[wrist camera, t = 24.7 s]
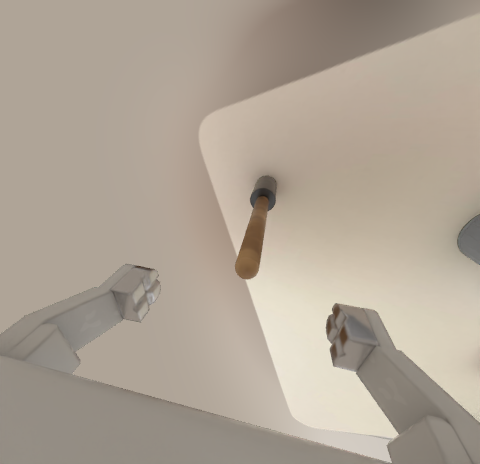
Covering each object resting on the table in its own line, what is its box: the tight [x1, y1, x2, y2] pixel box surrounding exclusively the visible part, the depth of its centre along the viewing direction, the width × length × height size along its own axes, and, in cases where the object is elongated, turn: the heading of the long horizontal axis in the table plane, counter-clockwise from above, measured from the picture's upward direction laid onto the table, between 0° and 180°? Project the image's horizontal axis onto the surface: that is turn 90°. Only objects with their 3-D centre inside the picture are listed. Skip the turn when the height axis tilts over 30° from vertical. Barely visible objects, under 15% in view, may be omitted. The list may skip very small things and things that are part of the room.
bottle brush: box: [235, 176, 276, 279], centre depth 19 cm, size 3×3×18 cm
